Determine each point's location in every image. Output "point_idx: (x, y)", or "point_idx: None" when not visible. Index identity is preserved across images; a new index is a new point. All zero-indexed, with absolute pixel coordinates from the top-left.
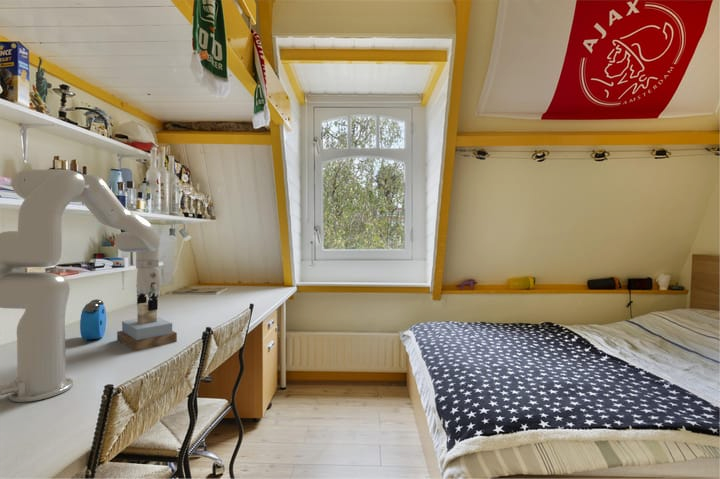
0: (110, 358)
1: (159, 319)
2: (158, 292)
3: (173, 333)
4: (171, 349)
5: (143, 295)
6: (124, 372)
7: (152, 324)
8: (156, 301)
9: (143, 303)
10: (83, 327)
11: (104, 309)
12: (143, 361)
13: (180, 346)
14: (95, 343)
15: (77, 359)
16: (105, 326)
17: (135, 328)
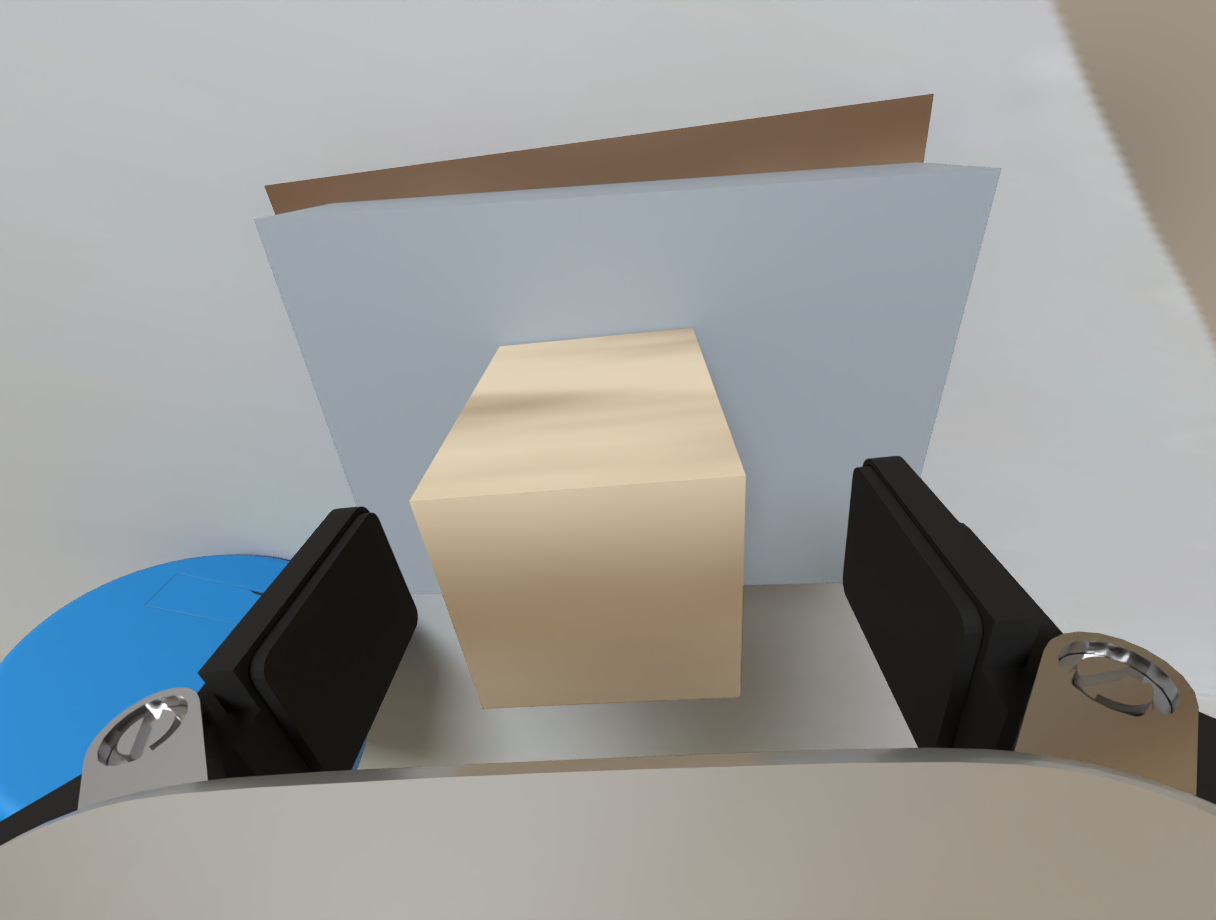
0: None
1: (570, 252)
2: (1204, 832)
3: (925, 145)
4: (1084, 248)
5: (245, 759)
6: (1189, 601)
7: (816, 415)
8: (994, 593)
9: (507, 641)
10: (361, 754)
11: (34, 740)
12: (1125, 492)
13: (1090, 135)
14: (430, 605)
15: (718, 698)
16: (148, 577)
17: (840, 580)
